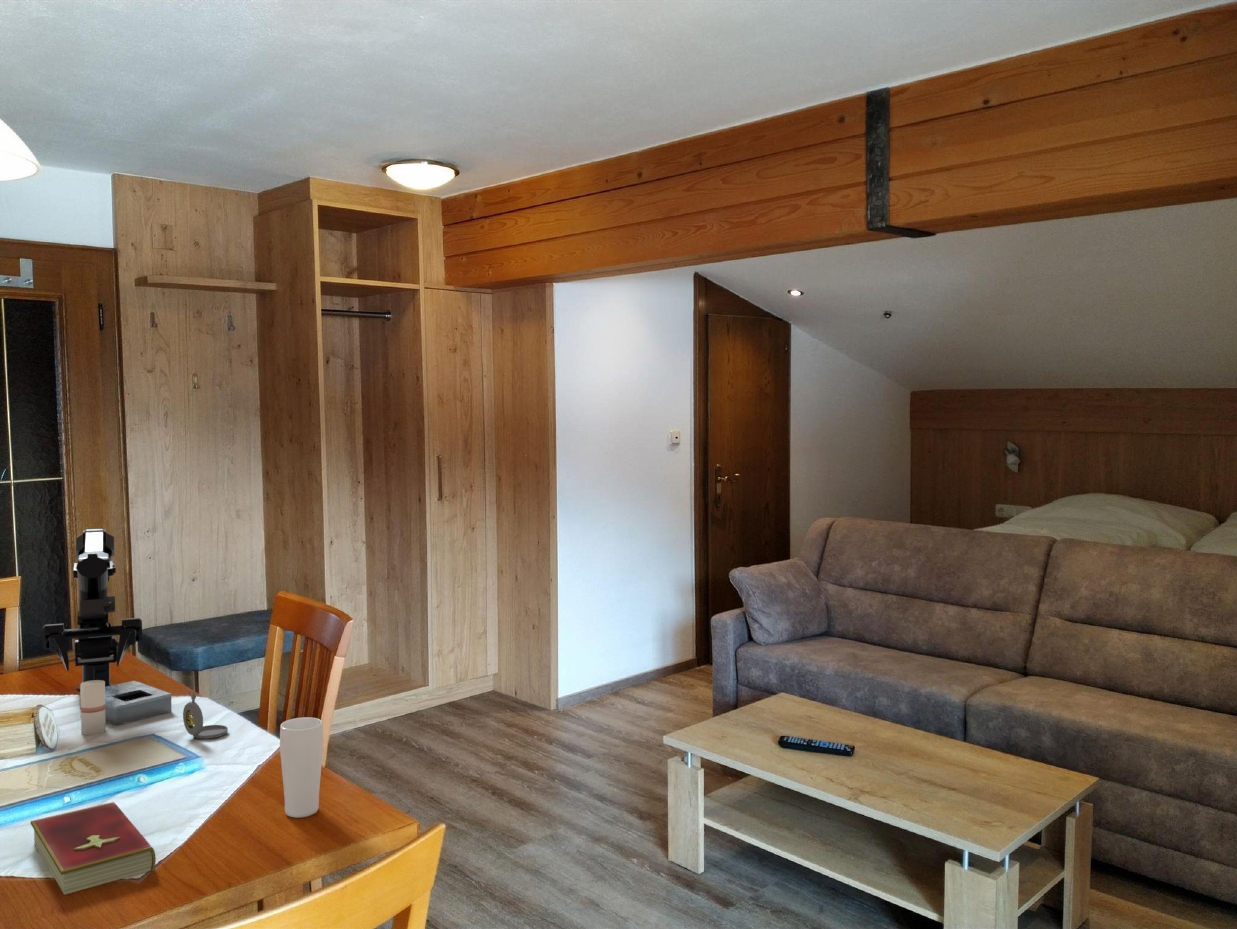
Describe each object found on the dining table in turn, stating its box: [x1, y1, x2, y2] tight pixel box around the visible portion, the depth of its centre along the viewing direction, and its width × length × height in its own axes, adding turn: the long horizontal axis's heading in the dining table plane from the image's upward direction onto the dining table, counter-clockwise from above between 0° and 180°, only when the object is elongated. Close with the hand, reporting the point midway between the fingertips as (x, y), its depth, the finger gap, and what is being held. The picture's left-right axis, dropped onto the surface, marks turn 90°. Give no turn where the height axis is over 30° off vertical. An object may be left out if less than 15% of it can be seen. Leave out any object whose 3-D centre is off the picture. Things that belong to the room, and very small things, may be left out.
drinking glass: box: [279, 716, 324, 819], centre depth 159 cm, size 7×7×15 cm
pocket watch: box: [182, 690, 229, 740], centre depth 196 cm, size 8×8×10 cm
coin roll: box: [79, 680, 107, 736], centre depth 198 cm, size 4×4×10 cm
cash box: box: [79, 680, 172, 726], centre depth 211 cm, size 16×12×4 cm
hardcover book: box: [30, 801, 157, 896], centre depth 143 cm, size 12×21×4 cm, turn 41°
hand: (93, 667), depth 202 cm, fingers open, 9 cm apart
